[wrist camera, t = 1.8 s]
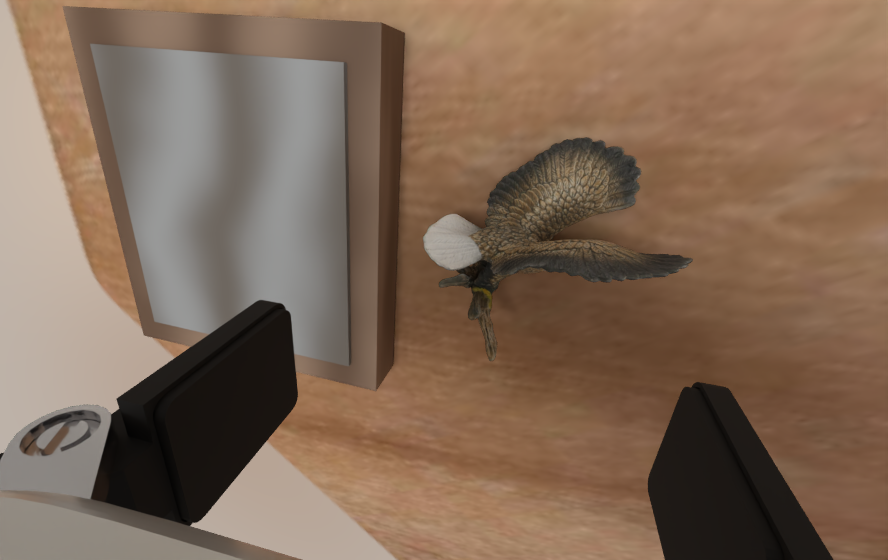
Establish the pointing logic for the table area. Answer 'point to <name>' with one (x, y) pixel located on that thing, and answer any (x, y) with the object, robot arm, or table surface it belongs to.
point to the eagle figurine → (545, 227)
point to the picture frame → (253, 173)
